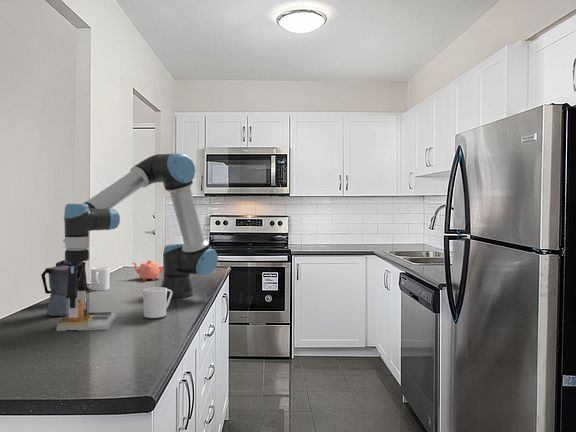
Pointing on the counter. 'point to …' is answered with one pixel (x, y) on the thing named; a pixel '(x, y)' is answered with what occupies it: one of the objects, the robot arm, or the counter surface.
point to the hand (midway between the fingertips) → (77, 313)
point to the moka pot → (57, 290)
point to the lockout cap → (79, 312)
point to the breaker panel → (88, 322)
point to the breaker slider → (87, 307)
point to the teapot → (148, 270)
